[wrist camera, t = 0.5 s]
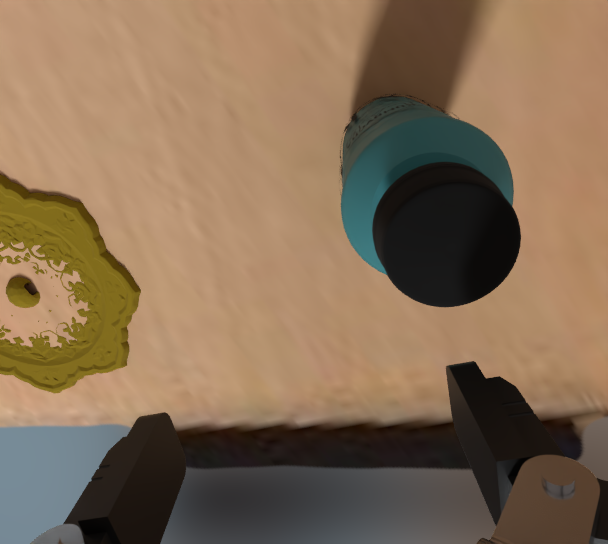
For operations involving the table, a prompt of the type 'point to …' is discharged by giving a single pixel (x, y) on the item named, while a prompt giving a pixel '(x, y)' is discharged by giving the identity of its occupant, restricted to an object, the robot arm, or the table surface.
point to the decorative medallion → (96, 289)
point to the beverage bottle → (428, 201)
